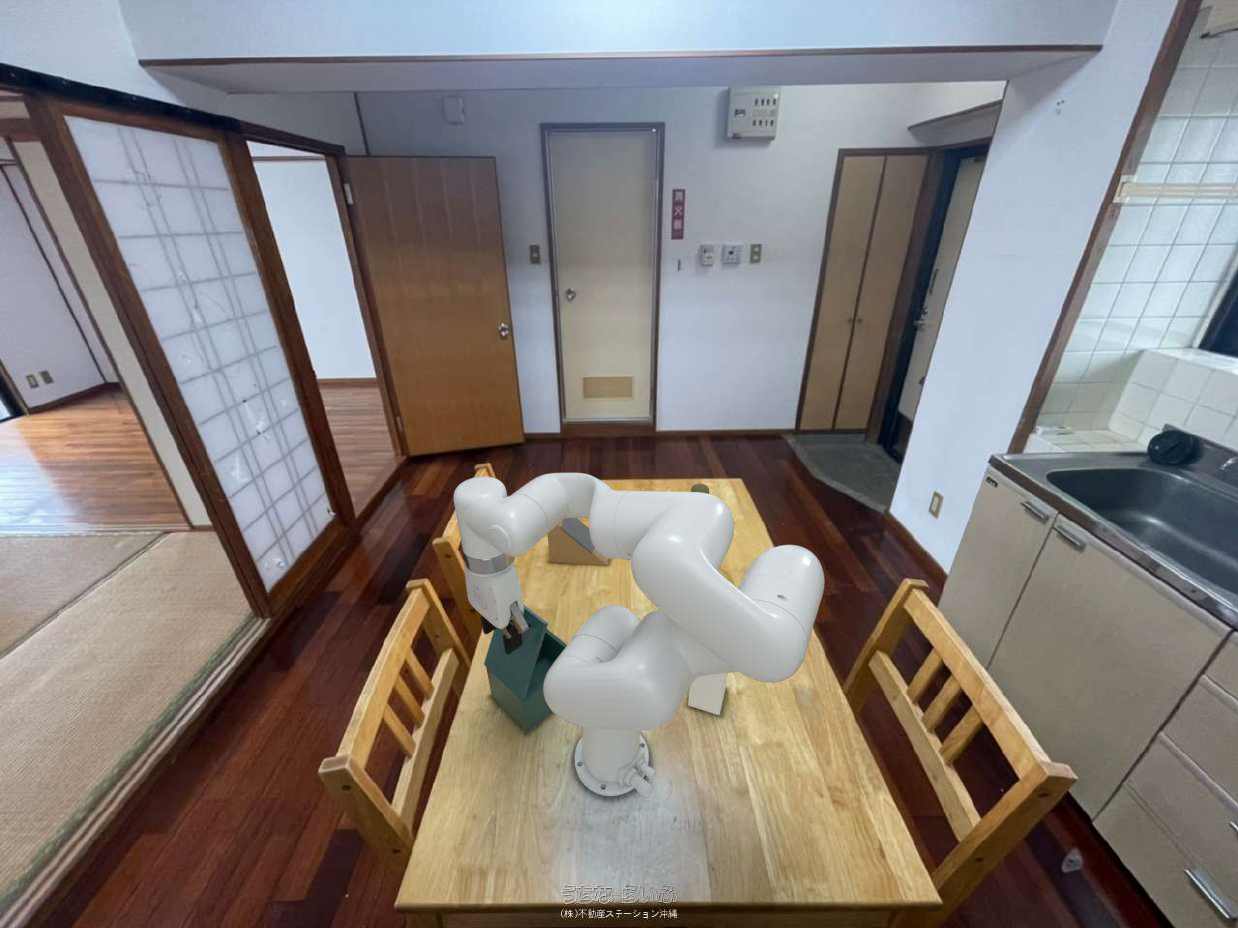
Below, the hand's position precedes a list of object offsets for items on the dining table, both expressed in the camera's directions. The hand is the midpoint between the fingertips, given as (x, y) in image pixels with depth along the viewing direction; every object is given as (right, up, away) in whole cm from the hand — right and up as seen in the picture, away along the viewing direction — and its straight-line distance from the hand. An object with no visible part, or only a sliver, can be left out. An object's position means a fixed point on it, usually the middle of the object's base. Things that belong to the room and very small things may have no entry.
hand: (502, 638), depth 88 cm
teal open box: (+4, -14, +12) cm, 19 cm away
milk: (+37, -15, +11) cm, 41 cm away
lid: (+2, -2, +3) cm, 4 cm away
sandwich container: (+10, +6, +50) cm, 51 cm away
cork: (+43, +14, +64) cm, 79 cm away
